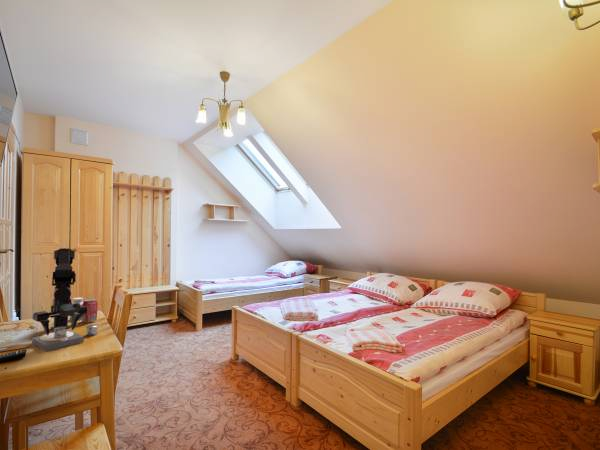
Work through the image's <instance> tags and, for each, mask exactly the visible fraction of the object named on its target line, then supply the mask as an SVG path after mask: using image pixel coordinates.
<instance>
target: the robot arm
mask: <svg viewBox="0 0 600 450" xmlns="http://www.w3.org/2000/svg"><path fill="white" fill-rule="evenodd" d="M75 253H76V251H75V250H73V249H72V248H68V247H67V248H63V247H62V248H58V249H56V250H54V252H53V260H55V265H56V266H55V268H54V271H52V281H51V286H53V287H54V291H53V292H54V293H53V299H52V302H53V303H52V305H51V306H50V312H48V311H45V310H43V311H36V312H34V313H33V314H32V320H34V321H35V322H37V323H40V324H41V325H42V327H43V330H44V332H45V334H47V335H49V333H50V329H51V330H53V331H54V328H56V327H62V326H66V327H67V329H69V328H71V330H70V331H74V329H75V327H76V325H77V323H78V322H79V320H78V319H79V318H80V317H81V316H82V315H84V313H87V312H88V309H87V307H85V306H82V305H81V306H80V304H79V303H76V304H72V303H73V302H72V299H71V295H72V289H71V288H72V285H75V283H76V281H77V280H76V279H77V277H76V275H77V274H76V271H75V270H73V266H72V264H73V260H75V257H76V254H75ZM70 316H72V319H71V320H70V321H71V324H70V325H68V324H69V323H68V322H69V321H68V320H69V317H70ZM49 318H51V319H53V326H51V327H50V322H51V320H50V319H49ZM49 327H50V328H49Z"/></svg>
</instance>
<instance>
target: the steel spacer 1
mask: <svg viewBox="0 0 600 450" xmlns="http://www.w3.org/2000/svg"><path fill="white" fill-rule="evenodd" d="M67 331H68V328H67V327H66V326H62V327H56V328H54V330H53V332H54V338H55V339H59V338H64V337H66V333H67Z"/></svg>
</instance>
